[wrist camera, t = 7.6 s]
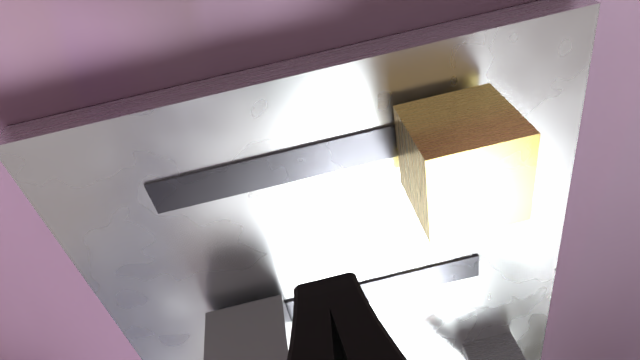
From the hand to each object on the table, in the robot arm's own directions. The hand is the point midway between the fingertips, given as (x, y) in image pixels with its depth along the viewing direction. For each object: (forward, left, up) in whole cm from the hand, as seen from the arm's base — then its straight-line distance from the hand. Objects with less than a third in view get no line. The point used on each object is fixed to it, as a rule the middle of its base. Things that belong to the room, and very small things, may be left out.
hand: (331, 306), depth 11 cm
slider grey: (-3, -7, -5) cm, 9 cm away
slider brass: (+5, 0, -5) cm, 7 cm away
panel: (+1, -8, -7) cm, 11 cm away
